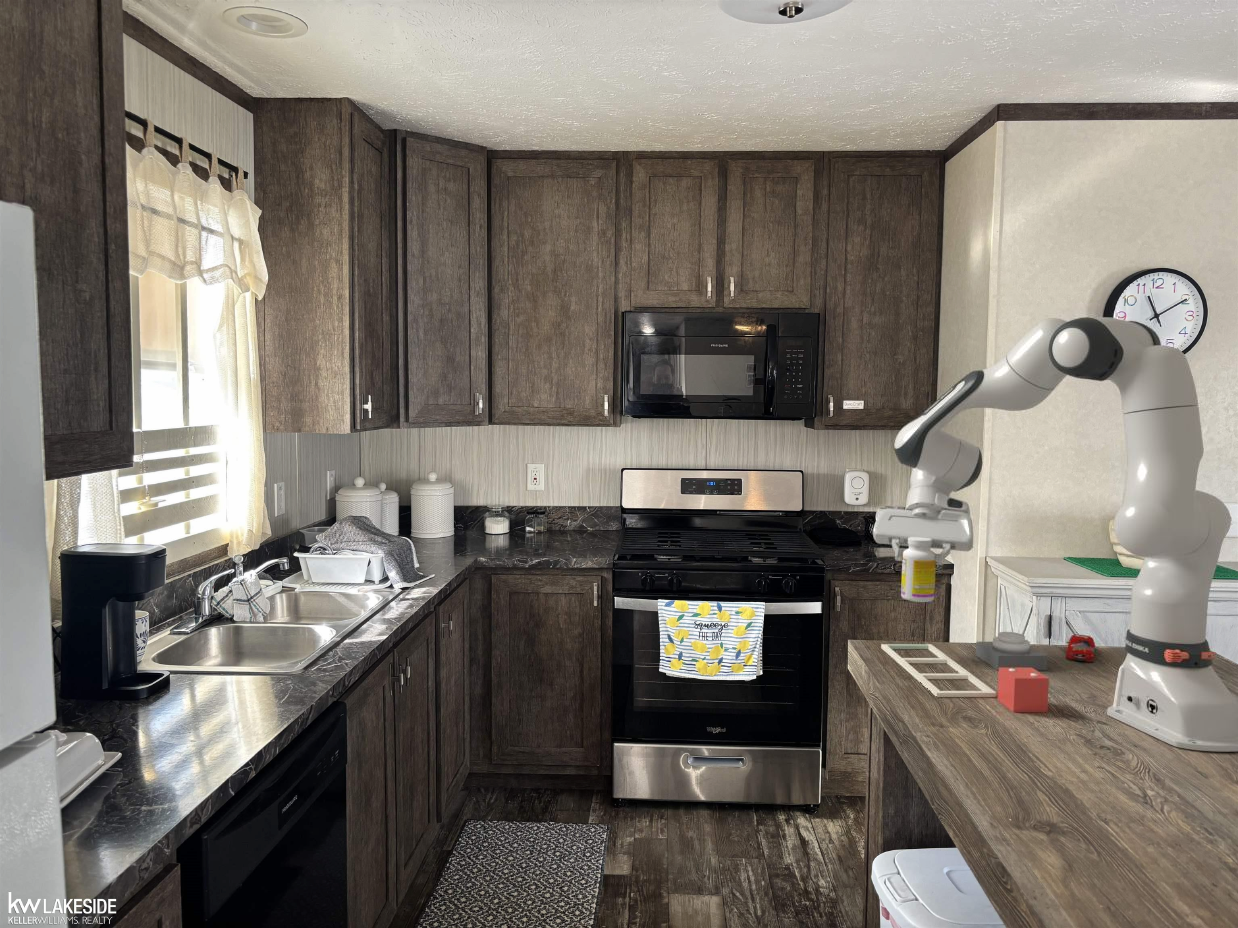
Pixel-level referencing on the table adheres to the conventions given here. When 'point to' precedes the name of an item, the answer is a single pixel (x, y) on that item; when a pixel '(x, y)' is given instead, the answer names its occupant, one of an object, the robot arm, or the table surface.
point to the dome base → (1011, 657)
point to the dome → (1011, 642)
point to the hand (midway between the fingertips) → (918, 561)
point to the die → (1023, 689)
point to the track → (923, 677)
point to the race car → (1081, 648)
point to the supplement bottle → (918, 570)
